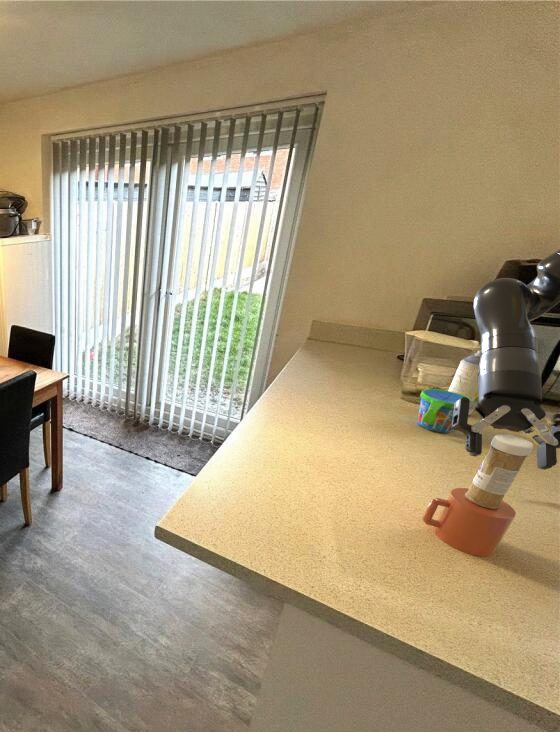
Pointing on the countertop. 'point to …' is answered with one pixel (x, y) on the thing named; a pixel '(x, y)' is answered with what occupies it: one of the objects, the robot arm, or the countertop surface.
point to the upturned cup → (469, 523)
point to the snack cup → (437, 409)
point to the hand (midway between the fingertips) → (509, 461)
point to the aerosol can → (467, 378)
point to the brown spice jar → (498, 470)
